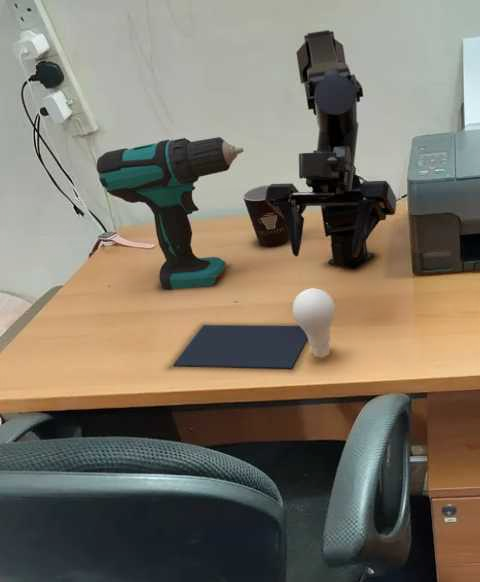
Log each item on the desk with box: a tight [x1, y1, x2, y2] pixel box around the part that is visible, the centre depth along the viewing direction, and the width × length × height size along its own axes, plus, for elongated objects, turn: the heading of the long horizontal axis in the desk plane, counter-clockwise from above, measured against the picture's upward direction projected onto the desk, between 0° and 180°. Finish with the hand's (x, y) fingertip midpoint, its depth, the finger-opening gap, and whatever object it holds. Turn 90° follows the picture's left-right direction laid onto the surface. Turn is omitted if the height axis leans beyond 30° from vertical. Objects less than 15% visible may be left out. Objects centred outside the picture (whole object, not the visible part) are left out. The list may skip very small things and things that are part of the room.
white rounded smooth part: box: [291, 287, 336, 359], centre depth 96 cm, size 6×6×11 cm
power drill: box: [96, 136, 244, 291], centre depth 120 cm, size 26×9×25 cm, turn 84°
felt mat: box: [173, 324, 308, 370], centre depth 105 cm, size 20×12×1 cm, turn 77°
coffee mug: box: [242, 184, 307, 248], centre depth 134 cm, size 12×9×10 cm
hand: (324, 255), depth 97 cm, fingers open, 9 cm apart
